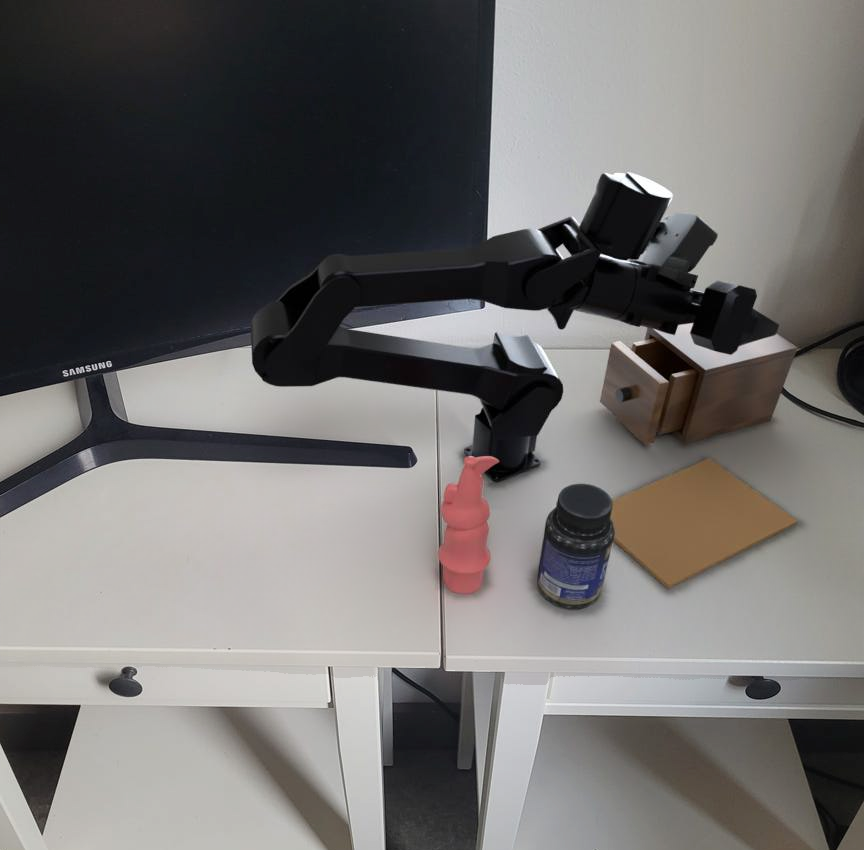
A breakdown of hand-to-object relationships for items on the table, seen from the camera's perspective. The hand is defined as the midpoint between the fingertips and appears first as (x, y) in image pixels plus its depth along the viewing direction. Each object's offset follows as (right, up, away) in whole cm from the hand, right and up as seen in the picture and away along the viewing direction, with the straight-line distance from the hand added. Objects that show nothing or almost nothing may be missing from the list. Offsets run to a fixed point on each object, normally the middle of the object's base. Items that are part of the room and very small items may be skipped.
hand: (747, 321), depth 85 cm
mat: (-6, -21, -1) cm, 22 cm away
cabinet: (+1, -8, +15) cm, 17 cm away
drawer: (-5, -9, +12) cm, 16 cm away
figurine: (-30, -26, -6) cm, 41 cm away
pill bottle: (-20, -27, -7) cm, 35 cm away
